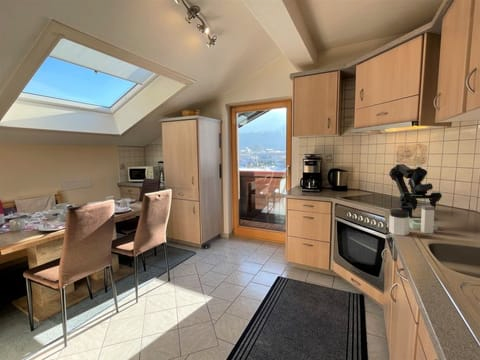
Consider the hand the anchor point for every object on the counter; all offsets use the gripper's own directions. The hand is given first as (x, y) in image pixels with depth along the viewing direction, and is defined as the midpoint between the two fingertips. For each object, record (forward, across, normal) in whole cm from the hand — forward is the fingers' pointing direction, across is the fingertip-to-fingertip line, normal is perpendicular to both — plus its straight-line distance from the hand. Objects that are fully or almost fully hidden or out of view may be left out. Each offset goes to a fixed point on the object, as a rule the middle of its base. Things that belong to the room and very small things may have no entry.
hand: (424, 210), depth 130 cm
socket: (+4, 0, +12) cm, 12 cm away
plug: (+10, 0, +5) cm, 12 cm away
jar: (+12, -14, +3) cm, 19 cm away
